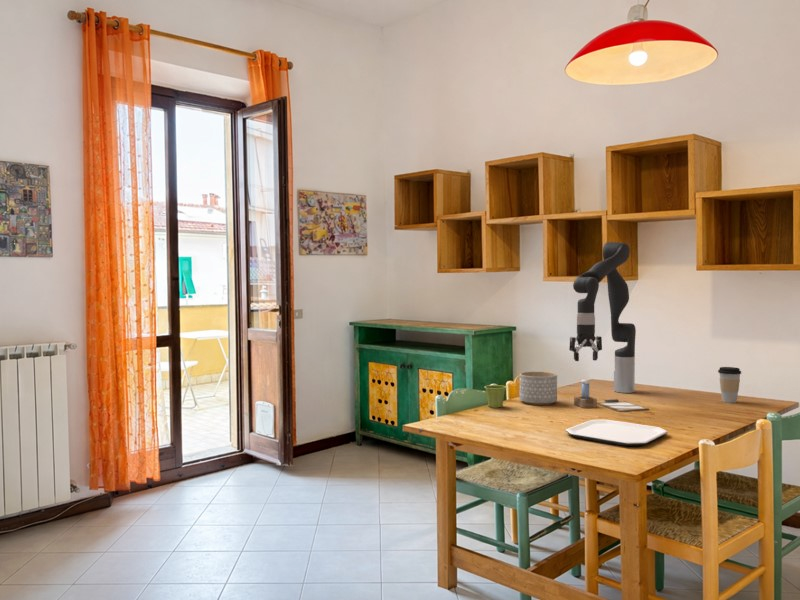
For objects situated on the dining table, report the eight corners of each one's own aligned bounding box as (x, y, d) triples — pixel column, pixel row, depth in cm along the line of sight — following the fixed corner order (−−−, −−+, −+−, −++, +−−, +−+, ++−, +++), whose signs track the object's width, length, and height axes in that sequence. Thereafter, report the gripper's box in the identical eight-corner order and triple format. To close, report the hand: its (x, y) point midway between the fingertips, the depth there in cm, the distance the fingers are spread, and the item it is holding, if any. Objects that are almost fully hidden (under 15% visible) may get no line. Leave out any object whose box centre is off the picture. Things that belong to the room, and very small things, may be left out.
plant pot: (482, 408, 281) (482, 387, 281) (486, 404, 290) (486, 384, 290) (504, 409, 278) (504, 388, 278) (507, 405, 287) (507, 385, 287)
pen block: (574, 404, 287) (574, 396, 287) (588, 404, 288) (588, 396, 288) (582, 407, 280) (582, 399, 280) (596, 407, 282) (596, 398, 281)
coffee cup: (744, 404, 286) (744, 369, 286) (721, 403, 288) (721, 369, 287) (736, 400, 296) (737, 366, 295) (714, 399, 297) (714, 366, 297)
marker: (579, 405, 285) (579, 379, 285) (586, 405, 286) (587, 379, 286) (583, 406, 282) (583, 381, 282) (590, 406, 283) (591, 380, 283)
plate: (672, 435, 233) (672, 428, 233) (640, 451, 211) (640, 444, 211) (595, 423, 252) (595, 417, 252) (559, 437, 230) (559, 431, 230)
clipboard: (596, 403, 289) (596, 400, 289) (624, 402, 292) (624, 398, 292) (619, 411, 271) (619, 408, 271) (649, 410, 274) (649, 406, 274)
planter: (561, 405, 285) (561, 376, 285) (523, 406, 285) (523, 377, 284) (552, 398, 301) (552, 371, 301) (516, 399, 301) (516, 371, 301)
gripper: (596, 322, 288) (596, 359, 289) (566, 323, 285) (566, 360, 285) (605, 323, 281) (605, 361, 281) (575, 324, 278) (575, 362, 278)
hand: (585, 360), depth 283 cm, fingers open, 8 cm apart
